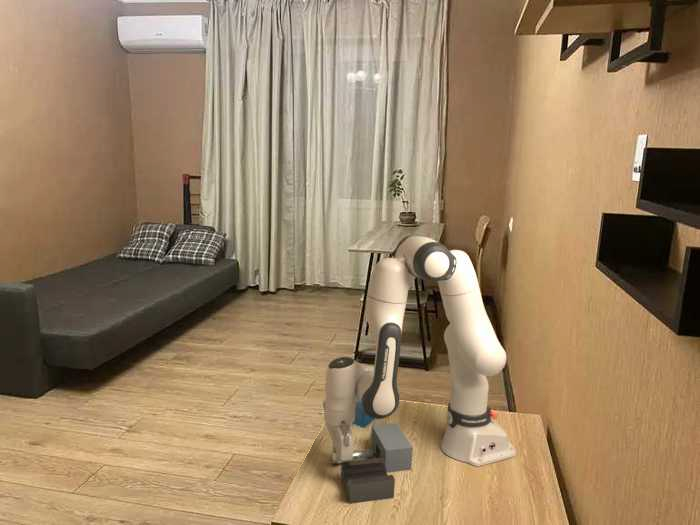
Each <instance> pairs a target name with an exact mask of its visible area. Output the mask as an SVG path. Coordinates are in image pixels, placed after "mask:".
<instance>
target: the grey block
mask: <svg viewBox="0 0 700 525" xmlns="http://www.w3.org/2000/svg"><path fill="white" fill-rule="evenodd" d="M370 438H371V439H370V447H371V449H372V451H373V454H374V455H375V456H378V455H379V458H384V460H385V467H386V469H387V470H386V473H387V474H388V473H394V472H402V471H410V470H412V464H413V445H411V443H410V441H409V439H408V438H407V437H406V435H405V433H404V432H403V431H402V429H401V427H400V426H399V424H398V423H397V422H394V423H393V422H392V423H391V422H390V423H383V424H382V423H381V424H372V425H371V437H370Z"/></svg>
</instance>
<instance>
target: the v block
mask: <svg viewBox="0 0 700 525" xmlns="http://www.w3.org/2000/svg"><path fill="white" fill-rule="evenodd" d="M340 464H341V466H340V482H341V484H342V487H343V490H344V492H345V495H346V498H347V500H348V503H349V504H357V503H365V502H372V501H382V500H388V499H389V500H390V499H394V498H395V482H396V478H395V476H394V475H393V474H388V472H387V473H386V470H387V469H386V467H385V460H384V458H380V457H378V458H373V459H366V460H357V461H348V462H341V463H340Z"/></svg>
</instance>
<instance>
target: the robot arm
mask: <svg viewBox="0 0 700 525" xmlns="http://www.w3.org/2000/svg"><path fill="white" fill-rule="evenodd" d="M416 278H419V279H421V280H423V281H426V282H437V283H438V288H439V293H440V296H441V297H440V298H441V300H442V305H443V309H444V311H445V316H446V318H447V320H448V322H449V325H447V326H446V329H444V333H443V339H444V340H443V341H444V343H445V346H446V349H447V356H448V362H449V363H448V364H449V370H450V371H449V372H450V393H449V395H450V397H449V402H448V405H447V413H446V422H447V424H446V426H445V427H446V428H445V432H444V435H443V437H442V440H441V442H440V448H441V450H442V452H443V453H444V454H445V455H447V456H448V457H450V458H451V459H454V460H457V461H460V462H464V463H467V464H469V465H472V466H474V467H482V466H486V465H489V464H493V463H497V462H500V461H503V460H507V459H511V458H515V457H516V450H515V448H514V445H513V444H512V443H511V442H510V440H509V438H508V434H507V432H506V430H505V429H504V428H503V426H502V425H500V423H498V422H497V421H496V420H497V419H498V418H499V414H498V413H497V412H496V411H495V410H492V408H491V407H489V406H488V400H489V398H488V397H489V389H490V385H489V381H488V379H487V377H493V376H495V375H498V374H500V372H502V370H503V369H504V368H505V366H506V364H507V353H506V351H505V349H504V347H503V346H502V345H501V342H500V341H499V339H498V337H497V334H496V331H495V329H494V327H493V325H492V323H491V320H490V318H489V316H488V314H487V311H486V309H485V305H484V302H483V297H482V292H481V289H480V285H479V280H478V276H477V273H476V270H475V268H474V265H473V263H472V260H471V259H470V256H469V255H468V254H467V253H466V251H463V250H460V249H451V250H449V249H448V248H447V247H446V246H445V245H444V244H442V243H440V242H438V241H436V240H434V239H433V238H430V237H426V236H423V235H420V234H410V235H407V236H405V237H403V238H401V240H400V241H399V242H398V243H397V245H396V247H395V248H394V249H393V251H392V253H391V255H390V257H386V258H382V259H380V260H378V262H377V263H376V264H375V267H374V269H373V272H372V274H371V278H370V281H369V285H368V289H367V295H366V299H365V300H366V301H365V318H366V321H367V323H368V326H369V329H370V330H371V333H372V336H373V339H374V343H375V356H374V358H375V359H374V364H373V365H367V364H363V363H360V362H358V361H357V360H355V359H354V358H352V357H349V356H342V357H341V356H340V357H337V358H335V359H333V360H331V362H330V363H329V364H328V366H327V368H326V374H325V383H324V390H325V400H323V401H322V406H323V409H324V410H323V413H324V414H323V418H324V419H323V420H324V422H325V426H326V428H327V430H328V434H329V435H330V439H331V441H332V448H333V449H332V453H336V452H337V458H336V460H337V462H338V463H337V464H341V462H344V461H351V460H352V459H353V451H354V437H353V436H354V435H353V432H352V431H351V429H350V427H351V425H353V424H352V423H354V421H355V409H356V402H358V401H361V403H362V406H363V409H364V411H365V413H366V414H367V415H368V416H369V417H371V418H374V420H381V419H382V420H383V419H386V418H388V417H390V416H391V415H393V414H394V413H395V412H396V410H397V409H398V407H399V405H400V394H399V389H398V383H397V381H398V380H397V379H398V372H399V363H400V354H401V347H402V346H401V345H402V335H403V334H402V333H403V324H404V316H405V310H406V306H407V301H408V295H409V294H408V293H409V289H410V287H411V285H412V283H413V282H414V281H415V280H416Z"/></svg>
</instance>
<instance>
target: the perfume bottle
mask: <svg viewBox="0 0 700 525" xmlns="http://www.w3.org/2000/svg"><path fill="white" fill-rule="evenodd" d="M373 420H374V421H375V419H374V418H371V417H369V416H368V415H367V414H366V413H365V411H364V409H363V406H362V403H361V401H358V402H356V409H355V421H354V423H352V424H351V425H354V424H355V426H357V427H359V426H360V427H359V428H362V429H365V428H366V427H368V426H369V425H371V424H372V423H373V422H374V421H373ZM372 421H373V422H372ZM371 422H372V423H371ZM367 425H368V426H367Z"/></svg>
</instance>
